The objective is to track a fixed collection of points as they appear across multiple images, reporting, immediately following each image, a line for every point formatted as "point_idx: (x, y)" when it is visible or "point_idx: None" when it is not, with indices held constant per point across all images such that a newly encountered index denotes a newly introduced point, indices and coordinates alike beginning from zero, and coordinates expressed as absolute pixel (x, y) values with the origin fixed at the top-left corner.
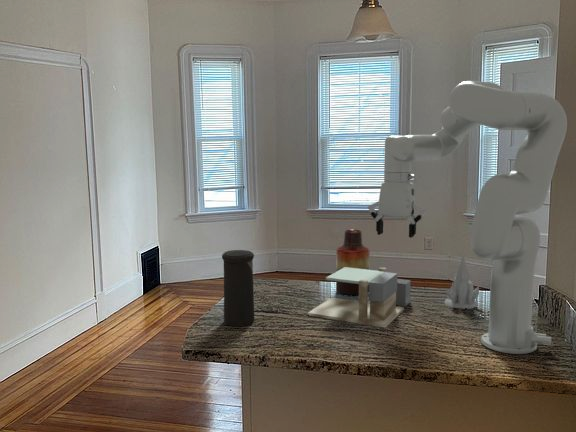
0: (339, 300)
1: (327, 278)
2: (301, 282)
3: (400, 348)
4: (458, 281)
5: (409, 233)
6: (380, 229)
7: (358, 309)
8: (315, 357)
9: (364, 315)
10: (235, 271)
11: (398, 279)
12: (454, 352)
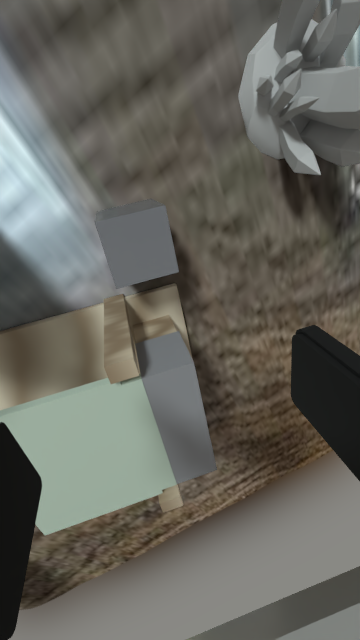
0: None
1: (50, 530)
2: None
3: (259, 441)
4: (348, 120)
5: (316, 423)
6: (24, 517)
7: (94, 375)
8: (180, 524)
9: None
10: None
11: (118, 227)
12: None
